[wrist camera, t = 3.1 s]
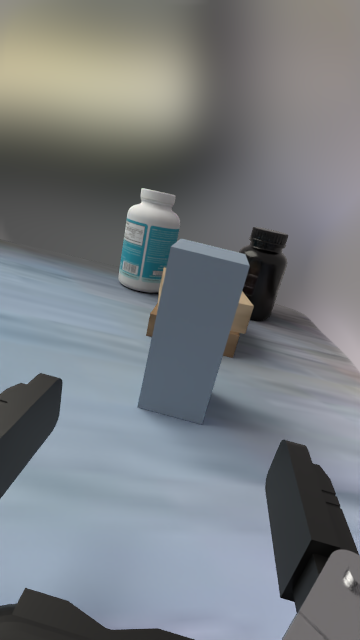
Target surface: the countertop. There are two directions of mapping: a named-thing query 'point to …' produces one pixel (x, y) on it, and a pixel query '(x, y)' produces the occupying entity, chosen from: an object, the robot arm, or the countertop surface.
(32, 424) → the robot arm
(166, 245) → the pill bottle
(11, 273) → the countertop surface
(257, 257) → the supplement bottle
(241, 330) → the tower top
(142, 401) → the pillar
